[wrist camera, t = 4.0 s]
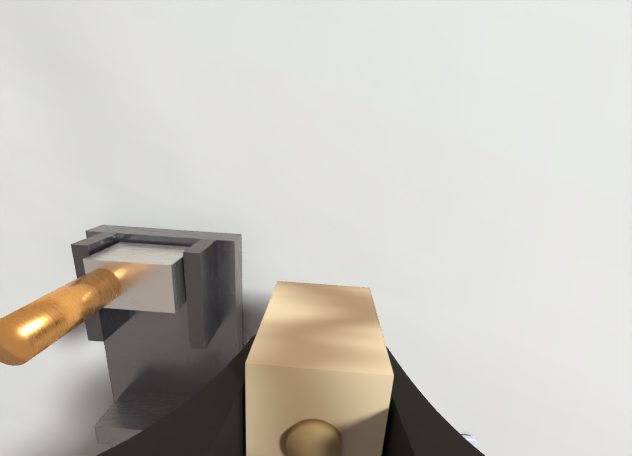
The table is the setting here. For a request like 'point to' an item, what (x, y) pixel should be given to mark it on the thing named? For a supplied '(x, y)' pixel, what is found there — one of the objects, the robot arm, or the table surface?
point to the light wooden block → (318, 374)
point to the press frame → (167, 328)
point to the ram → (97, 296)
